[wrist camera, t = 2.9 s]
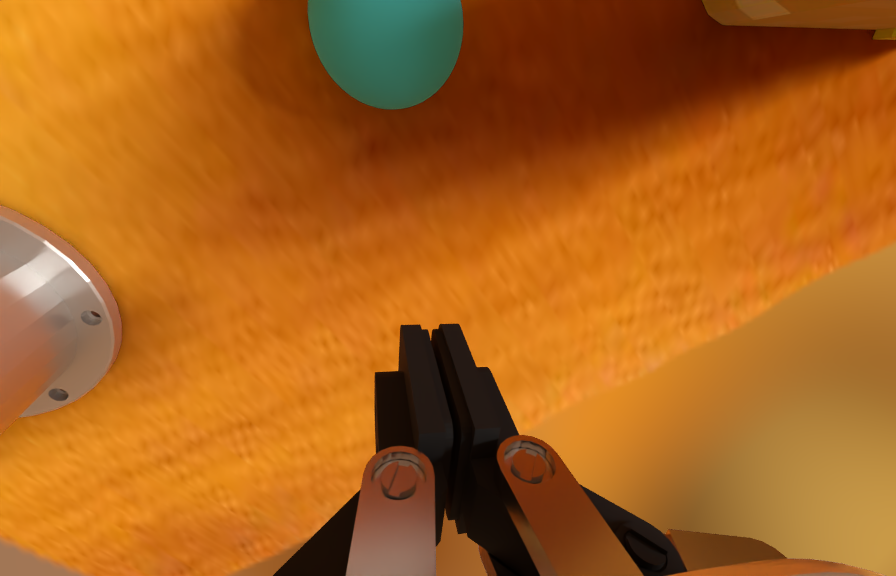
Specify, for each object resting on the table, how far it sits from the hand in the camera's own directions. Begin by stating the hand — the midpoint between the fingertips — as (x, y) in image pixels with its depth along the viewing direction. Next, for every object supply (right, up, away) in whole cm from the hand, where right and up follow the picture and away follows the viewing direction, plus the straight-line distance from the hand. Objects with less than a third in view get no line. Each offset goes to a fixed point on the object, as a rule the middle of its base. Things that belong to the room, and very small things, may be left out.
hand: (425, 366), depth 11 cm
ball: (-2, +13, +4) cm, 13 cm away
